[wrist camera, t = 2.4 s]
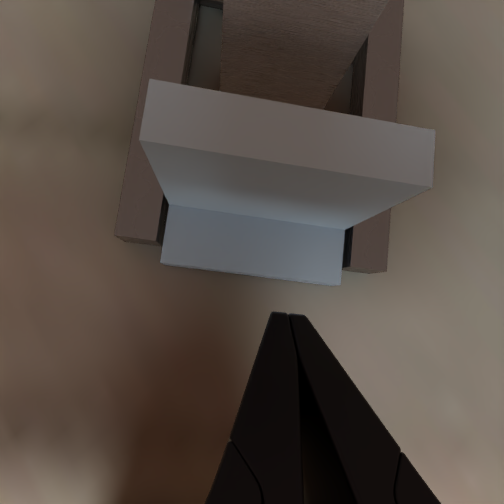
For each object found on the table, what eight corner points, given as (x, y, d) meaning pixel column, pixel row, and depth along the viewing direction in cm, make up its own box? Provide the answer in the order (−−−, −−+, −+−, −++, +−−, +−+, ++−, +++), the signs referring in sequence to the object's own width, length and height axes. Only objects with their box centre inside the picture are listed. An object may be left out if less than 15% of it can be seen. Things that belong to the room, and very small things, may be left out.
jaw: (330, 285, 19) (428, 279, 11) (164, 264, 18) (122, 238, 10) (338, 192, 20) (436, 114, 11) (179, 167, 19) (152, 62, 10)
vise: (369, 273, 20) (436, 264, 14) (124, 241, 19) (83, 216, 13) (387, 15, 22) (451, -86, 16) (171, -31, 21) (155, -160, 15)
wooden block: (316, 119, 21) (395, -11, 12) (219, 102, 20) (225, -49, 11) (324, 45, 21) (403, -130, 13) (229, 26, 21) (243, -171, 12)
